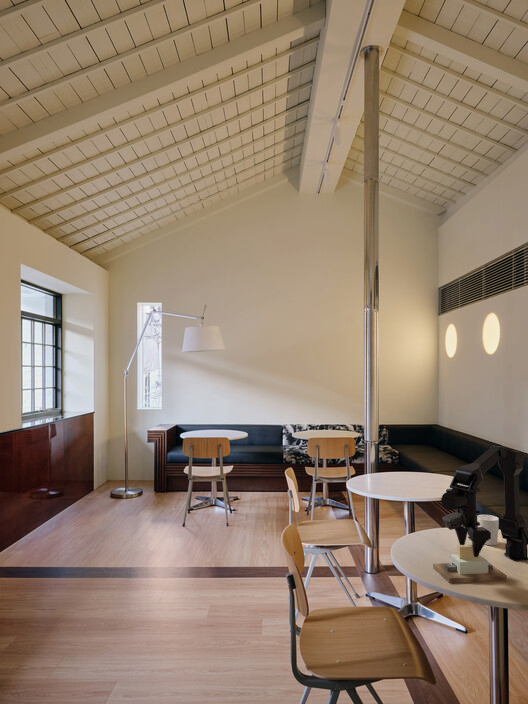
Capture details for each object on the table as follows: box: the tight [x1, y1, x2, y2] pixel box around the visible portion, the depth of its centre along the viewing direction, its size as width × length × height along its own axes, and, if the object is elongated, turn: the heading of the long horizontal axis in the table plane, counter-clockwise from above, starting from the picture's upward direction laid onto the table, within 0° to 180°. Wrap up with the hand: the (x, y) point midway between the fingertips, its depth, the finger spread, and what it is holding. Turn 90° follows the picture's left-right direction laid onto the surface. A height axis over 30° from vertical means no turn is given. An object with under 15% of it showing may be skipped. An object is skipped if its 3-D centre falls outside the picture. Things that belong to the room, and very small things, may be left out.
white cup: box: [477, 514, 500, 546], centre depth 199 cm, size 8×8×10 cm
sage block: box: [449, 544, 489, 574], centre depth 169 cm, size 10×7×8 cm
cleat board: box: [432, 561, 508, 584], centre depth 169 cm, size 20×12×3 cm, turn 95°
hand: (468, 551), depth 169 cm, fingers open, 9 cm apart
